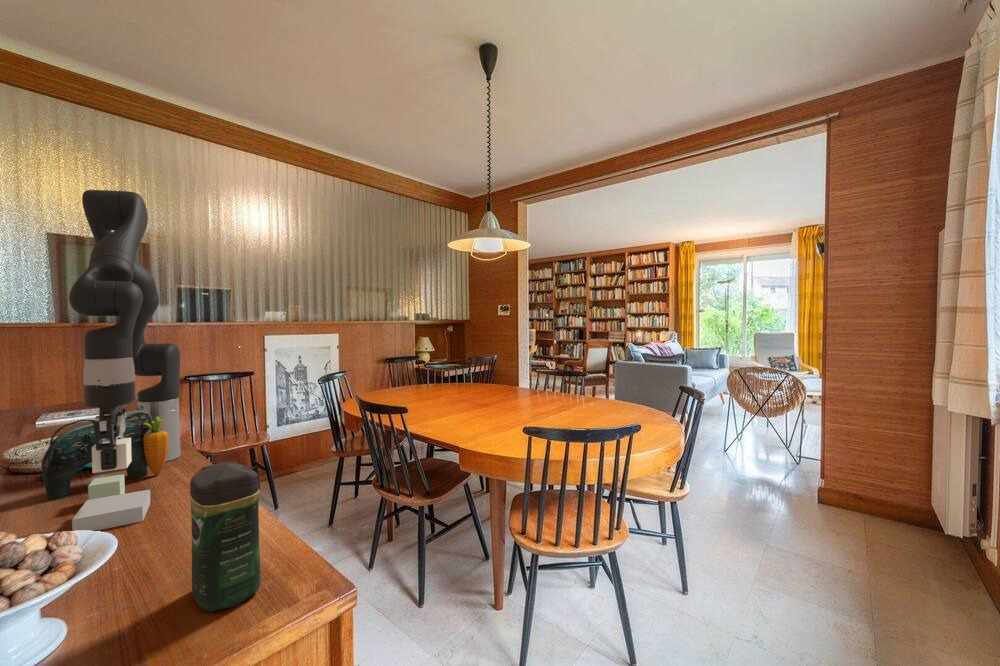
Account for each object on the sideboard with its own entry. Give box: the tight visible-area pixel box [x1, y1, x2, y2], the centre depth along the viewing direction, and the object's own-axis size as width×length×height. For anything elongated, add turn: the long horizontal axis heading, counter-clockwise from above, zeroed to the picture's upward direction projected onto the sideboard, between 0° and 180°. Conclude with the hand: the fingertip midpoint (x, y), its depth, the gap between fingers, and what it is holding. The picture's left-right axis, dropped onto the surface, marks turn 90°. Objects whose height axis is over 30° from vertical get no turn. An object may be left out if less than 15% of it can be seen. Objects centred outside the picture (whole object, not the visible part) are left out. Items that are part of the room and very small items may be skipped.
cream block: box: [91, 438, 132, 474], centre depth 84 cm, size 5×5×5 cm
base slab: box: [71, 489, 151, 531], centre depth 84 cm, size 10×10×3 cm
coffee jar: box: [189, 461, 261, 612], centre depth 61 cm, size 10×8×19 cm
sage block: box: [87, 473, 126, 500], centre depth 92 cm, size 5×5×5 cm
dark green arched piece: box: [41, 405, 152, 501], centre depth 101 cm, size 20×6×20 cm, turn 152°
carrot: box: [143, 417, 168, 476], centre depth 107 cm, size 5×5×15 cm
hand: (112, 464), depth 84 cm, fingers closed on cream block, 5 cm apart
